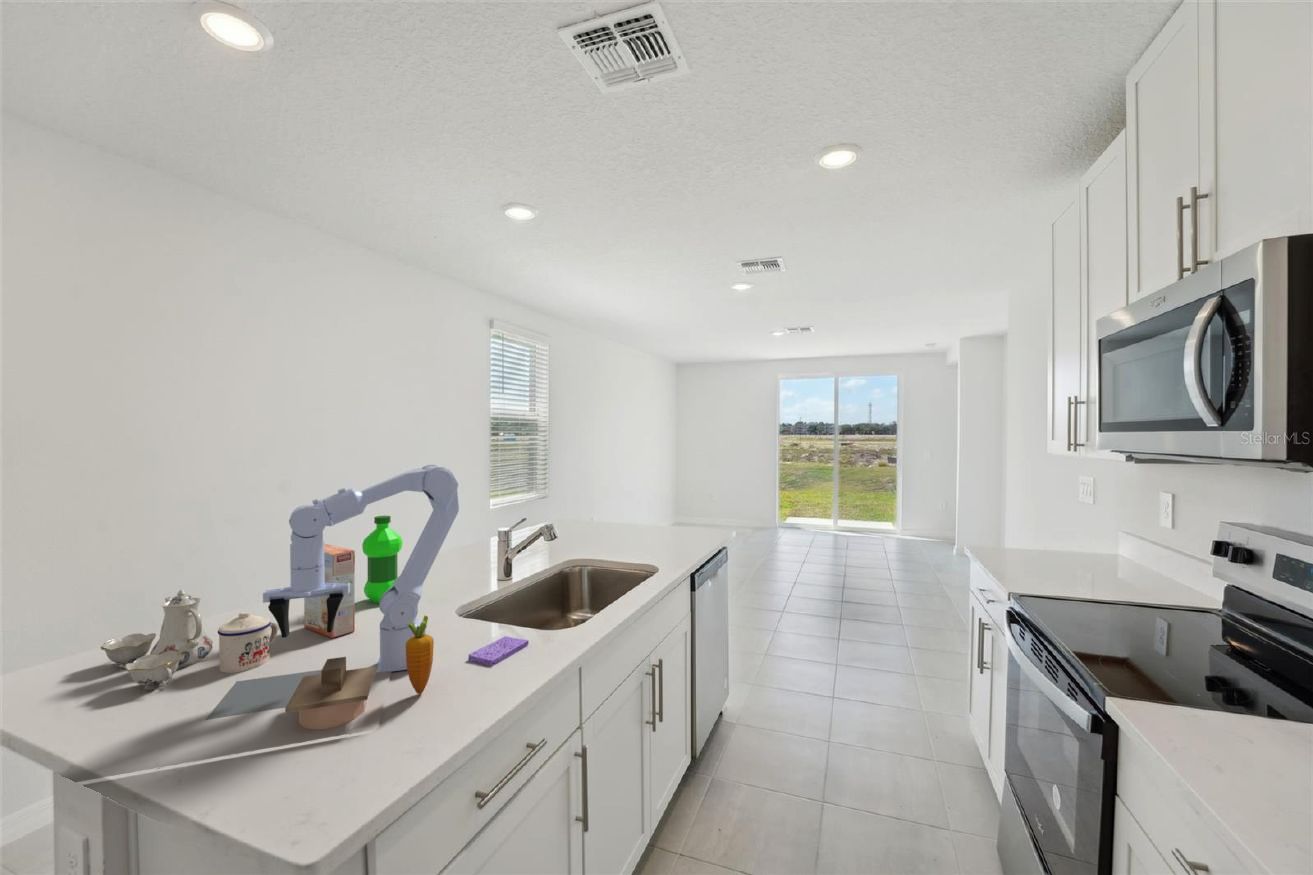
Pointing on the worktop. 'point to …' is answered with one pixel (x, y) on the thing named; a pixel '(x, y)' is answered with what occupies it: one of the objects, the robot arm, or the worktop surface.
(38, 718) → the worktop surface
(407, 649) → the carrot
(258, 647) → the teacup with lid
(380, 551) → the plastic bottle
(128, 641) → the chinaware
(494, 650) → the sponges
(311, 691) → the walnut lid
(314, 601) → the cracker box
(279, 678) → the rubber mat
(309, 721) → the terracotta bowl
